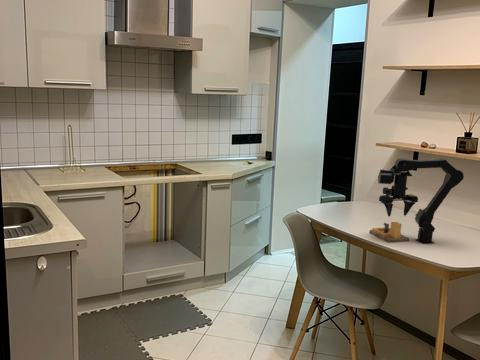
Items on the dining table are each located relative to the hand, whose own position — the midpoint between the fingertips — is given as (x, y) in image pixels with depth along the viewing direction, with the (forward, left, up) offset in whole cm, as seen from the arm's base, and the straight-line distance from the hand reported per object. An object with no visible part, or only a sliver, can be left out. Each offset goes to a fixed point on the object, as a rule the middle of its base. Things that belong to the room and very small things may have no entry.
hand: (396, 215), depth 230 cm
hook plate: (+4, 0, -12) cm, 13 cm away
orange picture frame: (+5, 0, -11) cm, 12 cm away
